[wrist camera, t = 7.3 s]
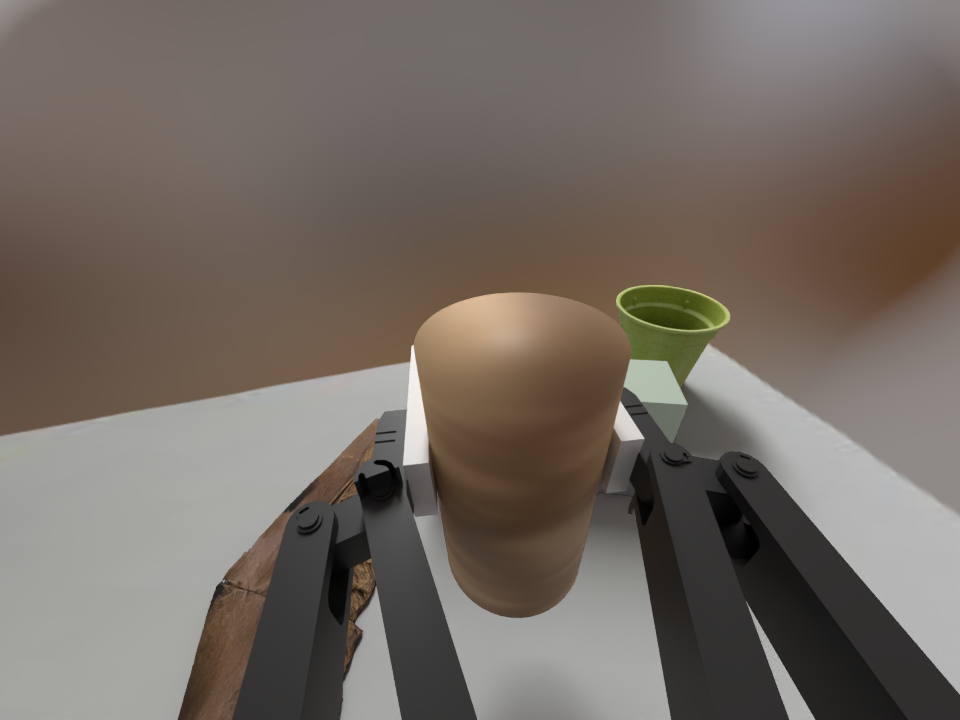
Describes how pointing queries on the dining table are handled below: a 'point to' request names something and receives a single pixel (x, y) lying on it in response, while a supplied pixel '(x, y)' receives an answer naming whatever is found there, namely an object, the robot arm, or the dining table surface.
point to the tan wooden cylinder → (519, 438)
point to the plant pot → (670, 324)
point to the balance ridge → (655, 399)
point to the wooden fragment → (244, 598)
